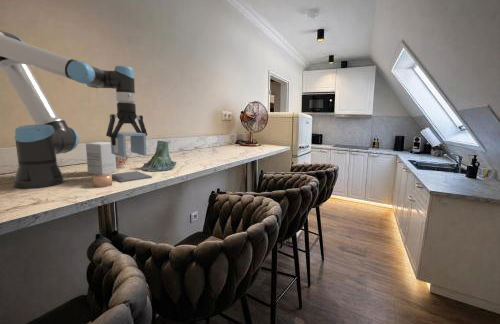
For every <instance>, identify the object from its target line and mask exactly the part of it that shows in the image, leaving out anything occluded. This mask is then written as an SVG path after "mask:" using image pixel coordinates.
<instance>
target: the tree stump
mask: <svg viewBox="0 0 500 324" xmlns="http://www.w3.org/2000/svg"><path fill="white" fill-rule="evenodd" d="M169 152H170V151H169V142H168V141H164V140H157V143H156V148H155V153H154V154H153V155H152V156H151V159H149V160H148V161H147V162H144V163H143V165H142V167H141V168H140V170H141V171H143V172H149V173H157V172H167V171H172V169H173V168H175V167H176V165H177V161H174V160H172V157H170V153H169Z"/></svg>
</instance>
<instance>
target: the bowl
mask: <svg viewBox="0 0 500 324" xmlns="http://www.w3.org/2000/svg"><path fill="white" fill-rule="evenodd" d="M111 174H112V173H109V174H93V175H92V183H93V185H92V186H93V187H95V188H107V187H111V186H112V185H113V179H112V175H111Z"/></svg>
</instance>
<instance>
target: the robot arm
mask: <svg viewBox="0 0 500 324" xmlns="http://www.w3.org/2000/svg"><path fill="white" fill-rule="evenodd" d="M30 67H32V68H36V69H40V70H42V71H45V72H49V73H51V74H55V75H58V76H60V77H63V78H66V79H70V80H72V81H75V82H77V83H81V84H85V85H86V86H87V87H89V88H92V89H115V93H116V96H115V97H116V109H117V110H116V111H117V112H116V114H114V113H112V114H111V113H110V114H109V123H108V127H107V131H106V134H105V135H106V137H107V138H108V137H109V138H110V143H111V142H112V145H114V152H115V153H118V138H116V136H117V133H118V132H120V130H121V129H122V127H123V126H124V124H126V125H127V124H131V126H132V127H133V129H134V130H135V131H134V132H137V133H145V134H146V137H147V136H148V133H147V129H146V127H145V123H144V116H143V115H139V114H137V113H136V112H137V109H136V108H137V107H136V104H135V103H136V91H135V80H136V79H135V74H134V73H135V72H134V68H133V67H131V66H126V65H116V66H114V70H106V69H105V70H104V69H100V68H97V67H95V66H92V65H90V64H89V63H86V62H85V61H81V60H80V61H79V60H77V59H74V58H71V57H68V56H65V55H63V54H60V53H59V54H58V53H56V52H53V51H51V50H47V49H45V48H41V47H38V46H36V45H33V44H30V43H28V42H25V41H24V40H23V39H21V38H20V37H17V35H15V34H12V33H9V32H6V31H4V30H1V29H0V71H3V72H4V73H5V75H6V76H7V78H8V80H9V82H10V84H11V85H12V87H13V89H14V91H15V92H16V94H17V95H18V97H19V98H20V100H21V102H22V103H23V106H24V107H25V108H26V110H27V112H28V114H29V115H30V117H31V119H32V120H33V122H34V123H35V124H27V125H20V126H18V127H16V128H15V130H14V140H15V146H16V155H17V163H18V166H17V170H16V174H15V176H14V181H13V183H14V187H15V188H19V189H35V188H37V189H38V188H46V187H52V186H55V185H58V184H59V185H60V184H62V183H64V181H65V179H64V178H65V177H64V174H63V173H62V171H61V169H60V167H59V165H58V161H57V155H59V154H66V153H68V152H72V151H73V150H75V149H76V148H77V147H78V145H79V142H80V137H79V134H78V132H77V131H76V130H75V129H74V128H72V127H69V126H68V123H66V120H65V119H63V118H60V117H59V116H58V114H57V112H56V111H55V109H54V107H53V106H52V103H50V100H49V99H48V97H47V95H46V94H45V92H44V90H43V88H42V87H41V85H40V83H39V81H38V80H37V78H36V76H35V75H34V73H33V71H32V69H31V68H30ZM117 118H118V122H117V124H116V126H115V123H116V120H117ZM136 120H137V121H138V124H137V122H136ZM112 132H113V133H112Z"/></svg>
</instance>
